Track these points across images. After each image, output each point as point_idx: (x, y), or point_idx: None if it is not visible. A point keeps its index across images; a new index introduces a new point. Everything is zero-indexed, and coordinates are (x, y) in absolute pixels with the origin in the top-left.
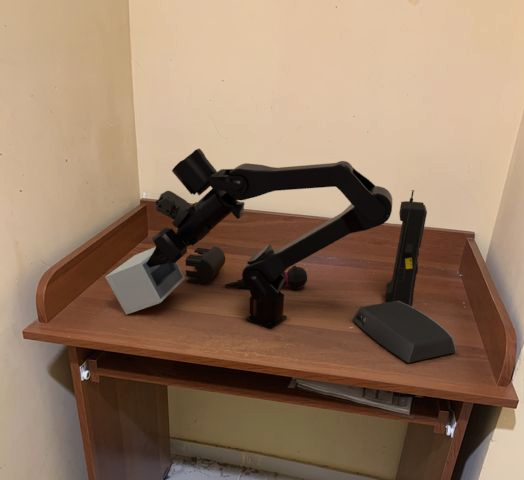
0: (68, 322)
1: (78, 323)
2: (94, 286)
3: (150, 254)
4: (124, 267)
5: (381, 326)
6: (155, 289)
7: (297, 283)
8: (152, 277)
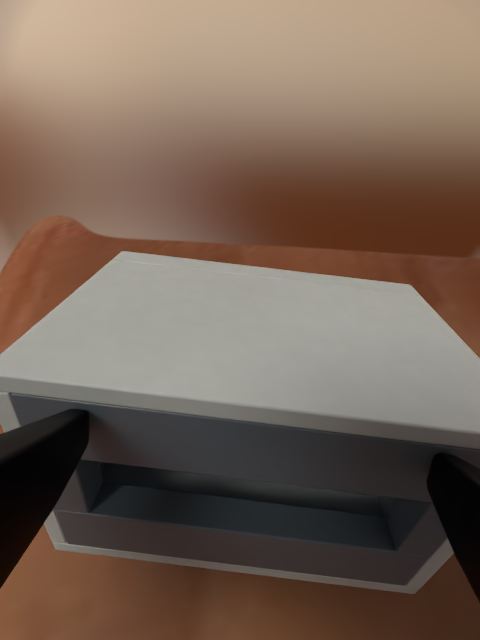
0: (84, 265)
1: (76, 286)
2: (313, 252)
3: (221, 390)
4: (140, 290)
5: None
6: (57, 512)
7: None
8: (74, 477)
